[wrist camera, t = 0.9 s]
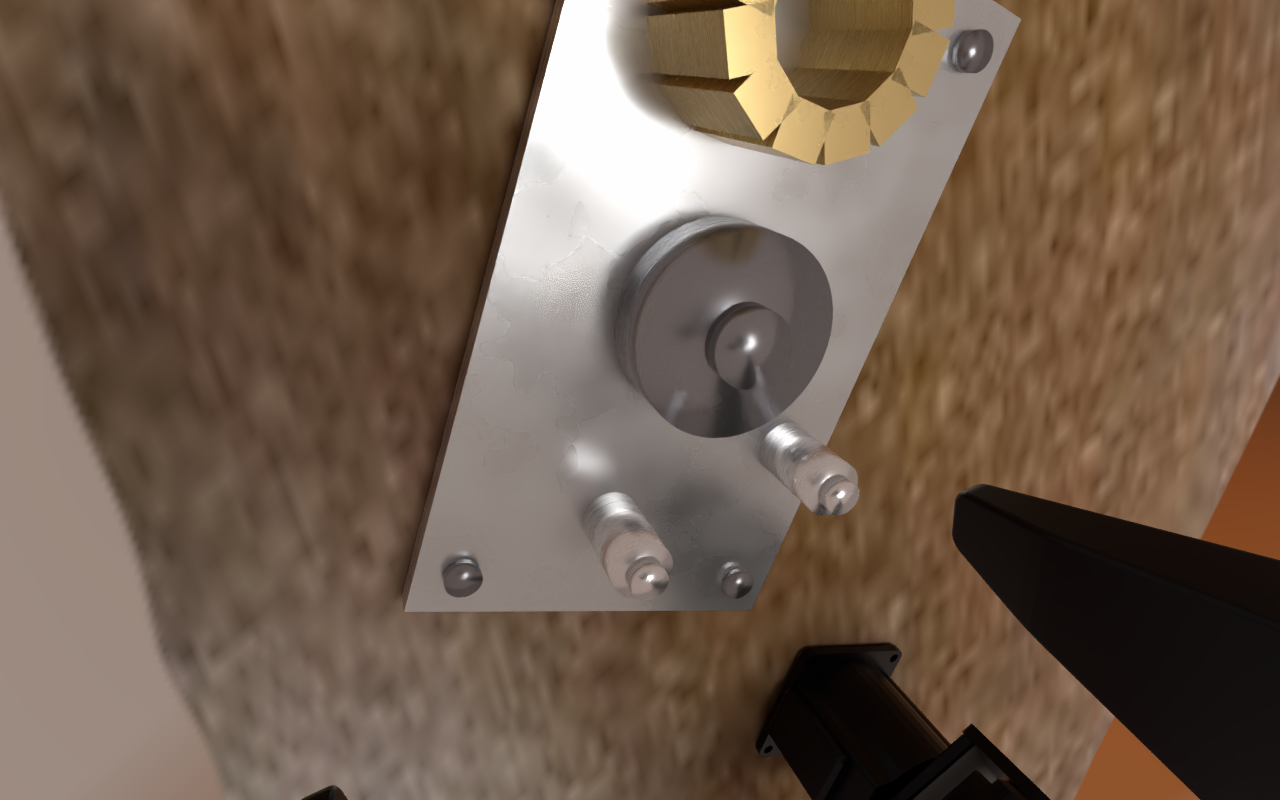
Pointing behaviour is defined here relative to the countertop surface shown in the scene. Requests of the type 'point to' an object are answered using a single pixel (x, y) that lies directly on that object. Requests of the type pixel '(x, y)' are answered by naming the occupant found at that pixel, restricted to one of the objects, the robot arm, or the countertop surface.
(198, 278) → the countertop surface
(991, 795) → the robot arm
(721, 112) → the planet gear
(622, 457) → the carrier plate
